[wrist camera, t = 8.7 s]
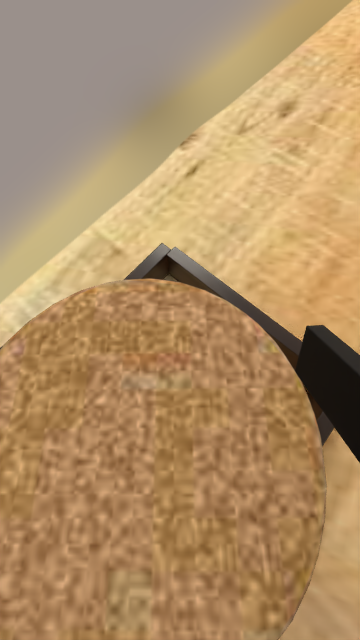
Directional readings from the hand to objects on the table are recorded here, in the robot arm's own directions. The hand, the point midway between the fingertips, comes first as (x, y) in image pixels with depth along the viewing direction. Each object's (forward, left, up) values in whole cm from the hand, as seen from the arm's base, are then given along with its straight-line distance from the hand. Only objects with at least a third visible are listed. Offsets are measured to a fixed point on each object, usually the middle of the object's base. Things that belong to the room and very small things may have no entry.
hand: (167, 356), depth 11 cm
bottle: (+1, +2, -7) cm, 8 cm away
